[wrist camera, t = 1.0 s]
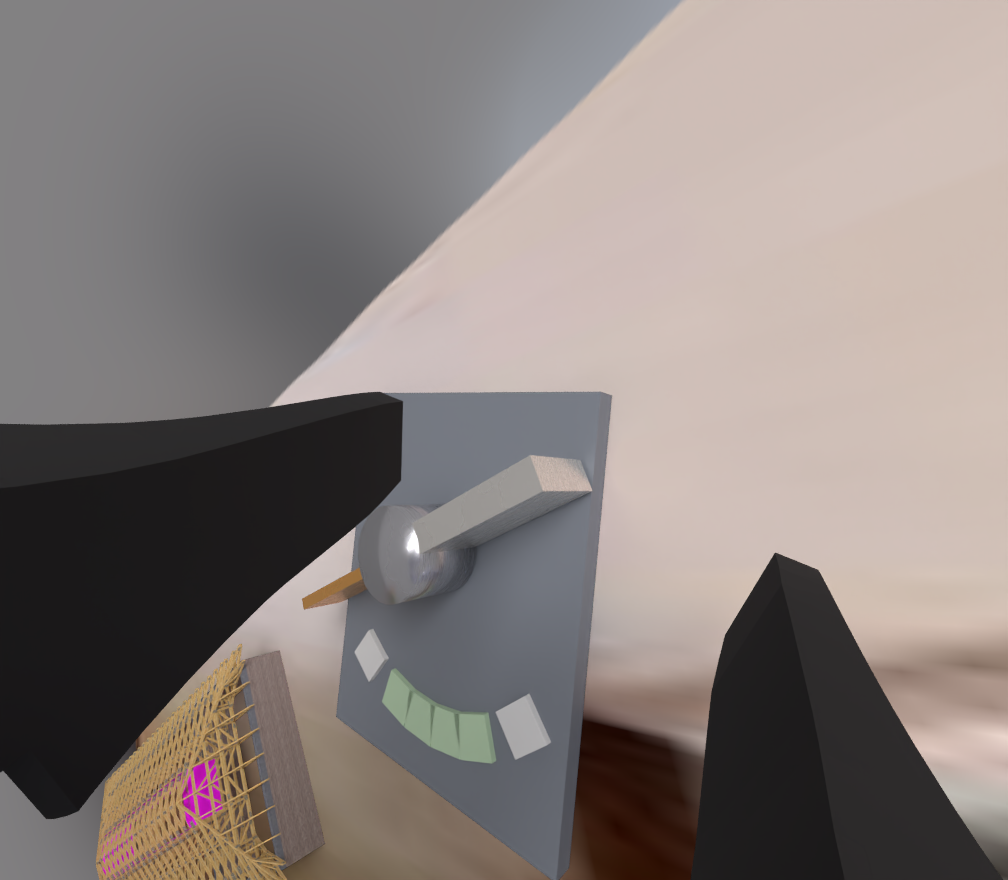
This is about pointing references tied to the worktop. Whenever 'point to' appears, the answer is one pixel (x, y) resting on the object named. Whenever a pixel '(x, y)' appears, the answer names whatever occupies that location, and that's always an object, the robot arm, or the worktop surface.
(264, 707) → the rafter model
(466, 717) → the plate
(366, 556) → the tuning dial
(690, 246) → the worktop surface
